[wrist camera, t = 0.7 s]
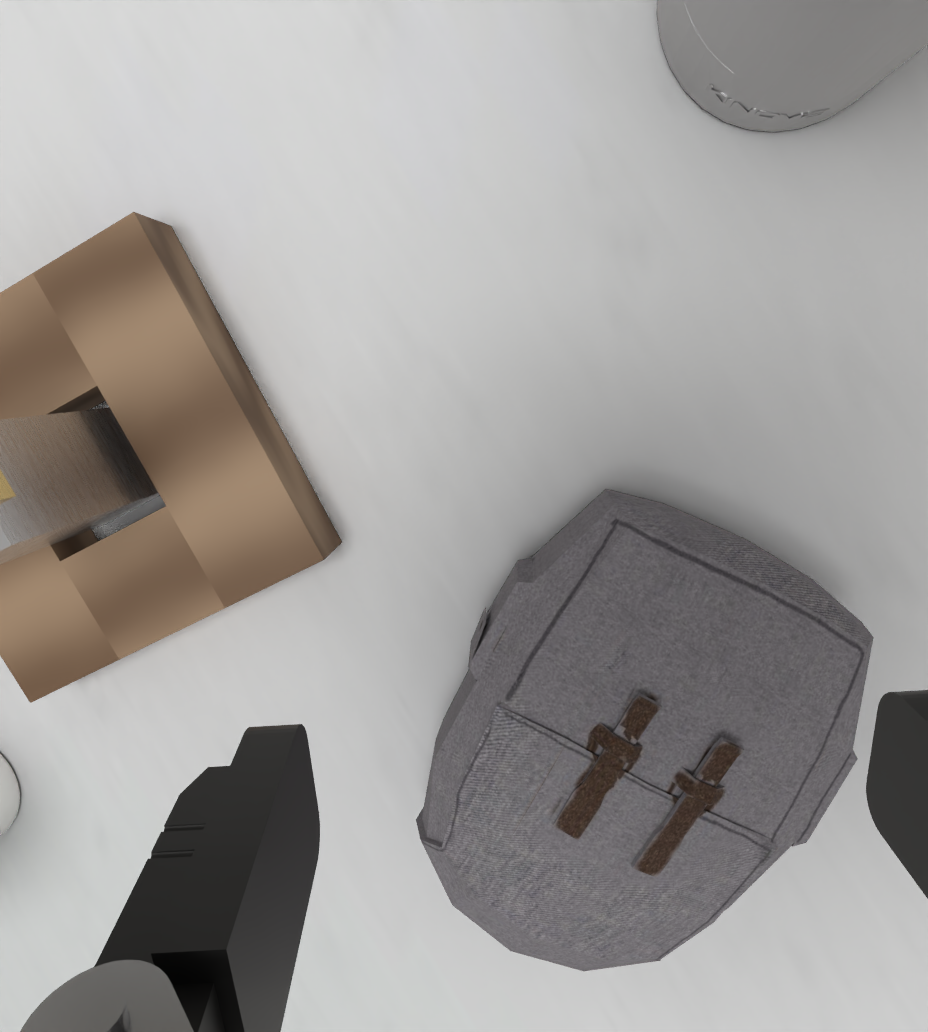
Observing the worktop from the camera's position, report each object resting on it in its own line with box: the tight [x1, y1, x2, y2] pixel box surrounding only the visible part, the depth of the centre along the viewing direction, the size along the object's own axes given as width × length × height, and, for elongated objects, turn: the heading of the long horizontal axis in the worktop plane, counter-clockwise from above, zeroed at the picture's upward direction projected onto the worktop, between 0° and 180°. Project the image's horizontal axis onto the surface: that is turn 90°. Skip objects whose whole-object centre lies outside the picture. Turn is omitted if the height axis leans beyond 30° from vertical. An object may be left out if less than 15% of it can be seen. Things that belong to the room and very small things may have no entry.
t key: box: [0, 408, 160, 564], centre depth 27 cm, size 6×4×13 cm, turn 117°
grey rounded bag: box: [416, 489, 873, 971], centre depth 30 cm, size 15×8×20 cm
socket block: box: [0, 212, 342, 703], centre depth 32 cm, size 15×15×3 cm
